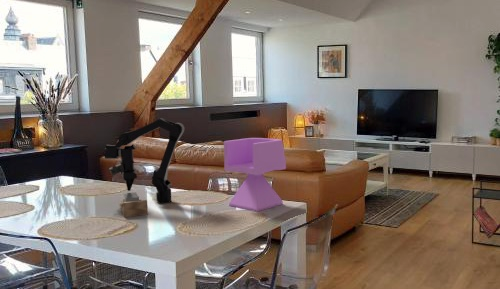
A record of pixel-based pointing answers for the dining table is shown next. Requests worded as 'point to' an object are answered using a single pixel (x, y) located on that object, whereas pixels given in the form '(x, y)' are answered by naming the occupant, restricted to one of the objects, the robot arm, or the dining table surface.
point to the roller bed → (122, 205)
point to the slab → (130, 197)
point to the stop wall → (135, 208)
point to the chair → (254, 170)
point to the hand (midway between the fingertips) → (128, 190)
